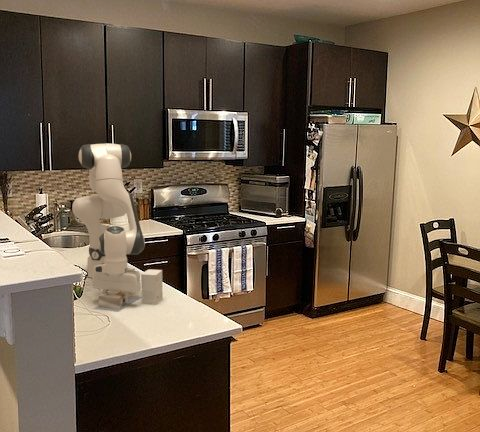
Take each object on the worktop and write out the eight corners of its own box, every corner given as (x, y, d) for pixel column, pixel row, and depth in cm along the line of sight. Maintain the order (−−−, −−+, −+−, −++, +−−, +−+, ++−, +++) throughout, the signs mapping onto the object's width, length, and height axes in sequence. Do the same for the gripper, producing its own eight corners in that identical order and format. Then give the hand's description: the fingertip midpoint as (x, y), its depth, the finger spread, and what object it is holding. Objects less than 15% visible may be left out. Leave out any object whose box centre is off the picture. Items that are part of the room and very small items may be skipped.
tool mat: (119, 295, 223) (119, 294, 223) (142, 298, 220) (142, 296, 220) (93, 310, 204) (93, 308, 204) (118, 313, 201) (118, 311, 201)
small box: (148, 299, 219) (148, 268, 217) (163, 300, 217) (162, 269, 215) (141, 305, 211) (140, 273, 209) (156, 306, 210) (156, 274, 208)
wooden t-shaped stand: (119, 295, 221) (118, 285, 220) (138, 297, 218) (138, 287, 217) (98, 306, 206) (98, 295, 205) (119, 309, 203) (118, 298, 203)
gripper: (143, 267, 208) (143, 301, 210) (98, 263, 214) (99, 296, 216) (135, 271, 202) (136, 306, 204) (89, 267, 208) (90, 300, 210)
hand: (116, 300), depth 210 cm, fingers open, 6 cm apart
